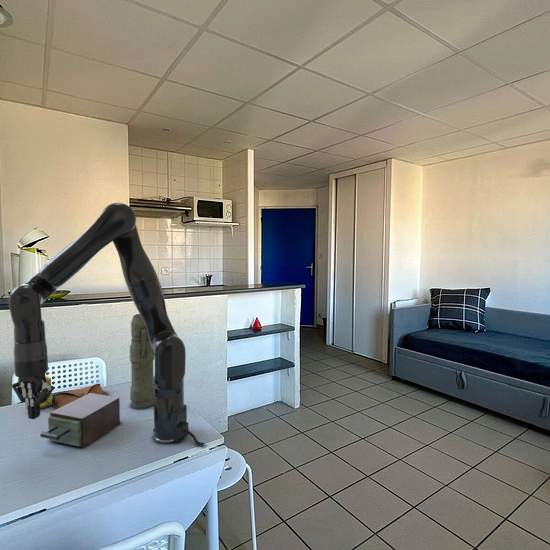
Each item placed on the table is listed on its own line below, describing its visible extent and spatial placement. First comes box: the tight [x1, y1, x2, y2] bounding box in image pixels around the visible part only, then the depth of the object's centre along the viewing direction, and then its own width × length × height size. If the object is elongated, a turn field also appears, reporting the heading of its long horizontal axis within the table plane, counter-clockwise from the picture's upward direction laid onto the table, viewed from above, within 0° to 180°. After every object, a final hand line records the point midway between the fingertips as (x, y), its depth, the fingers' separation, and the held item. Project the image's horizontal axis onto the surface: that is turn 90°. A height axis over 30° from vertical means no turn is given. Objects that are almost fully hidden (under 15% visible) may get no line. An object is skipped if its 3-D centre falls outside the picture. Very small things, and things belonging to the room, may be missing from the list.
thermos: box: [129, 313, 155, 410], centre depth 134 cm, size 9×12×35 cm
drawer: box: [39, 416, 82, 447], centre depth 110 cm, size 20×11×7 cm, turn 163°
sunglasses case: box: [51, 383, 108, 410], centre depth 138 cm, size 18×7×7 cm, turn 137°
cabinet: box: [49, 393, 121, 449], centre depth 114 cm, size 16×13×9 cm
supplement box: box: [40, 374, 53, 410], centre depth 132 cm, size 6×6×11 cm
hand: (34, 417), depth 97 cm, fingers closed
